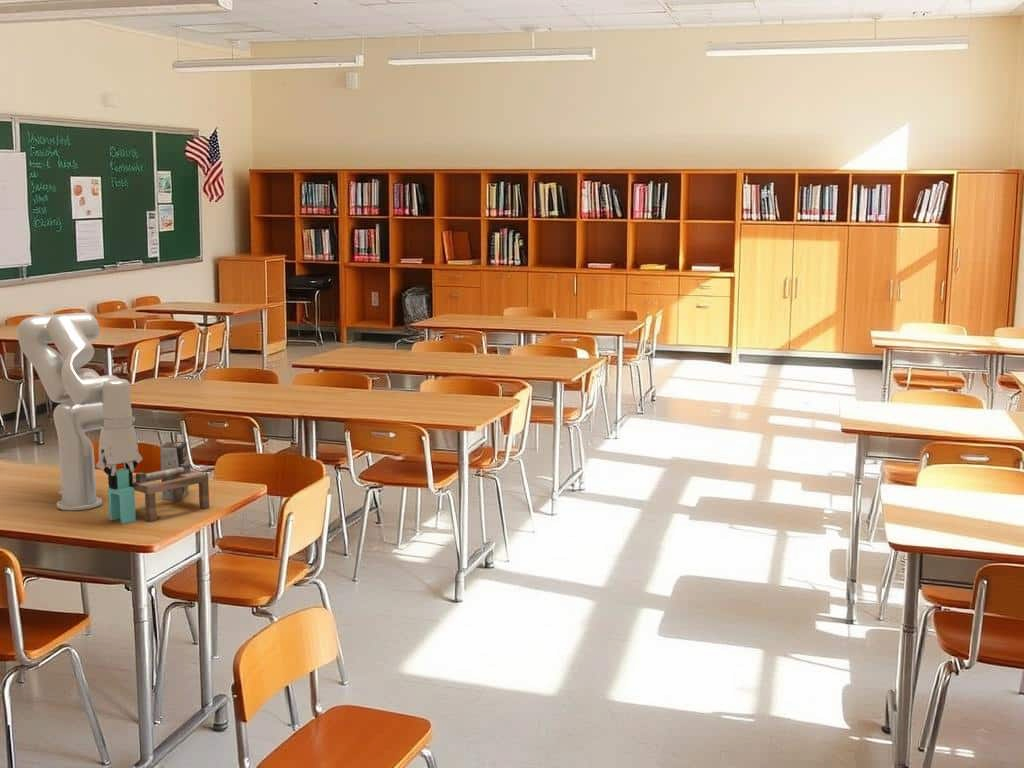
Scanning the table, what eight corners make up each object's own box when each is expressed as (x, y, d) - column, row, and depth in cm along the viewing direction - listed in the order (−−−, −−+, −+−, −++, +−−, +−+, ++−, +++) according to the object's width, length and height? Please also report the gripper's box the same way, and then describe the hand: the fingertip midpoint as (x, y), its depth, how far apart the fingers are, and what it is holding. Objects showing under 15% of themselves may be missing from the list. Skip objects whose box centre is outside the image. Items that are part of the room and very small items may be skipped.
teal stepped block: (109, 519, 322) (106, 469, 320) (122, 516, 325) (119, 466, 323) (123, 523, 318) (120, 472, 316) (135, 520, 321) (133, 470, 319)
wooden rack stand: (120, 512, 329) (118, 471, 327) (178, 499, 345) (177, 459, 343) (150, 521, 320) (148, 479, 318) (209, 507, 335) (207, 466, 334)
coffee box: (183, 499, 345) (181, 447, 342) (161, 499, 344) (159, 447, 342) (189, 492, 354) (187, 441, 351) (168, 492, 353) (166, 441, 351)
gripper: (136, 417, 326) (139, 479, 329) (82, 426, 313) (86, 490, 316) (151, 420, 321) (154, 483, 324) (98, 429, 309) (101, 495, 311)
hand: (120, 486), depth 320 cm, fingers closed on teal stepped block, 4 cm apart
